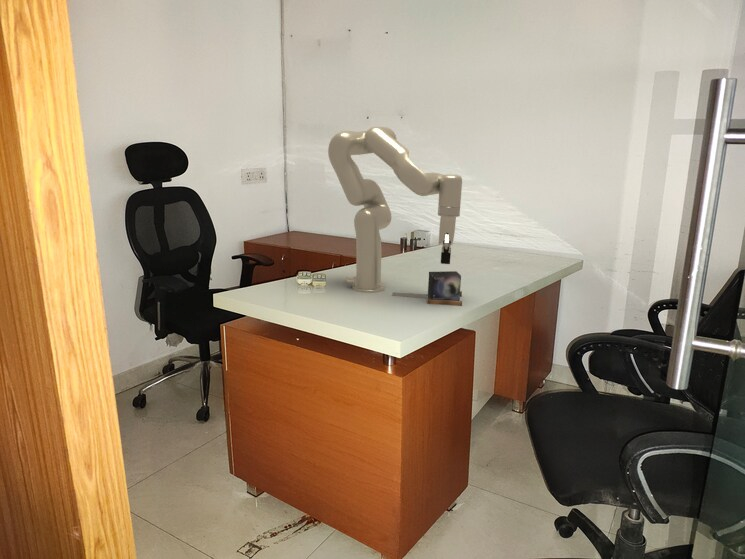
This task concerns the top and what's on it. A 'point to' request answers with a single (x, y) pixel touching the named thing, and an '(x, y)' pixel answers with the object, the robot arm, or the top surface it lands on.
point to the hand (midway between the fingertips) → (445, 260)
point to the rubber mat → (410, 295)
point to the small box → (444, 286)
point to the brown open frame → (445, 302)
